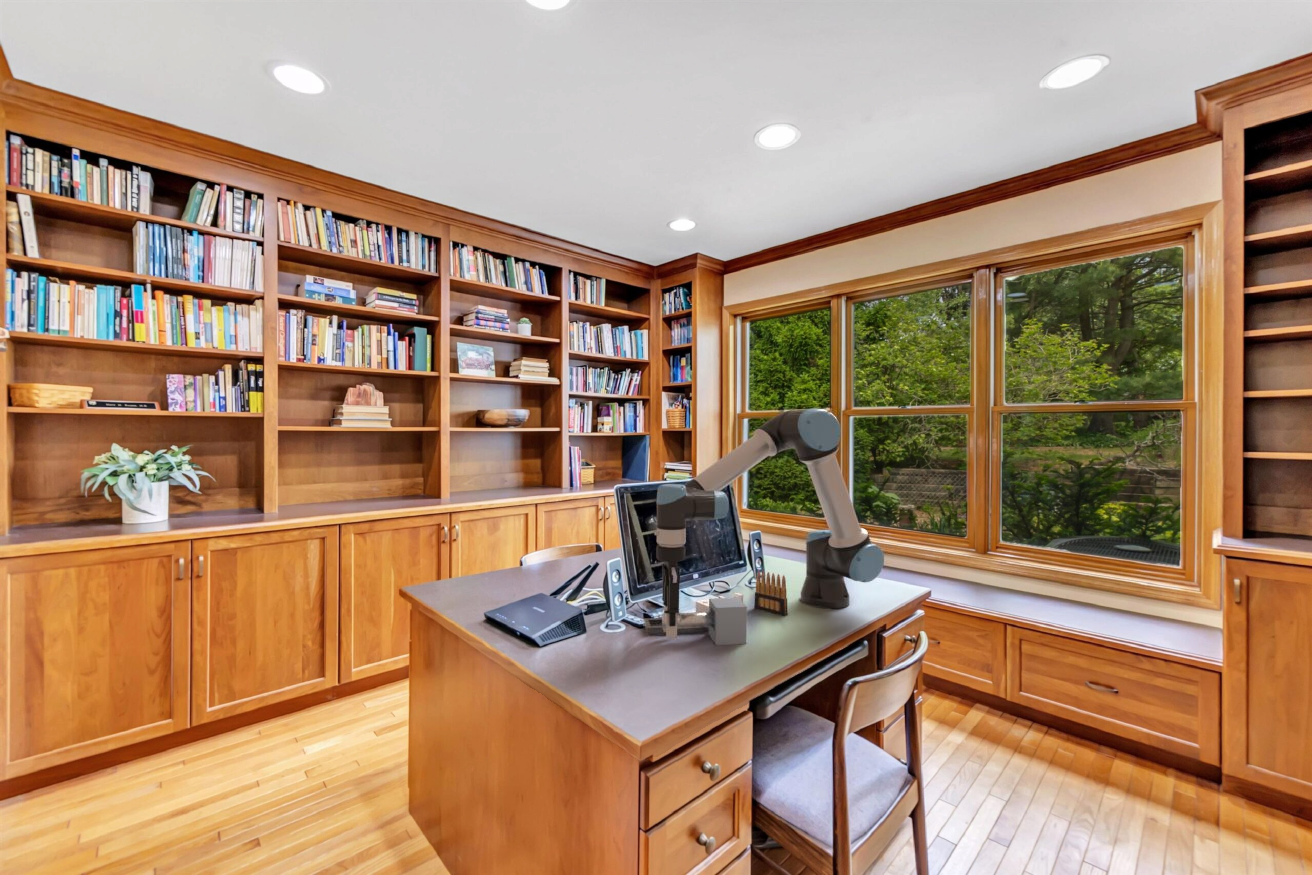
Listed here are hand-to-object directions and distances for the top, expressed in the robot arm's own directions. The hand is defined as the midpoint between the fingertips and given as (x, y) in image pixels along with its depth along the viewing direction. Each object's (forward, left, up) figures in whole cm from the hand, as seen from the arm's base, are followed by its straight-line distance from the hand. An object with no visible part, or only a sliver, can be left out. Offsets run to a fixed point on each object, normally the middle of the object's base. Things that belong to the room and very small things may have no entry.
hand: (670, 634), depth 143 cm
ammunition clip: (-34, -20, -2) cm, 40 cm away
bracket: (-18, -18, -2) cm, 25 cm away
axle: (-6, 0, +3) cm, 7 cm away
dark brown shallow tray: (-5, -9, -2) cm, 10 cm away
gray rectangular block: (-15, 0, -2) cm, 15 cm away
